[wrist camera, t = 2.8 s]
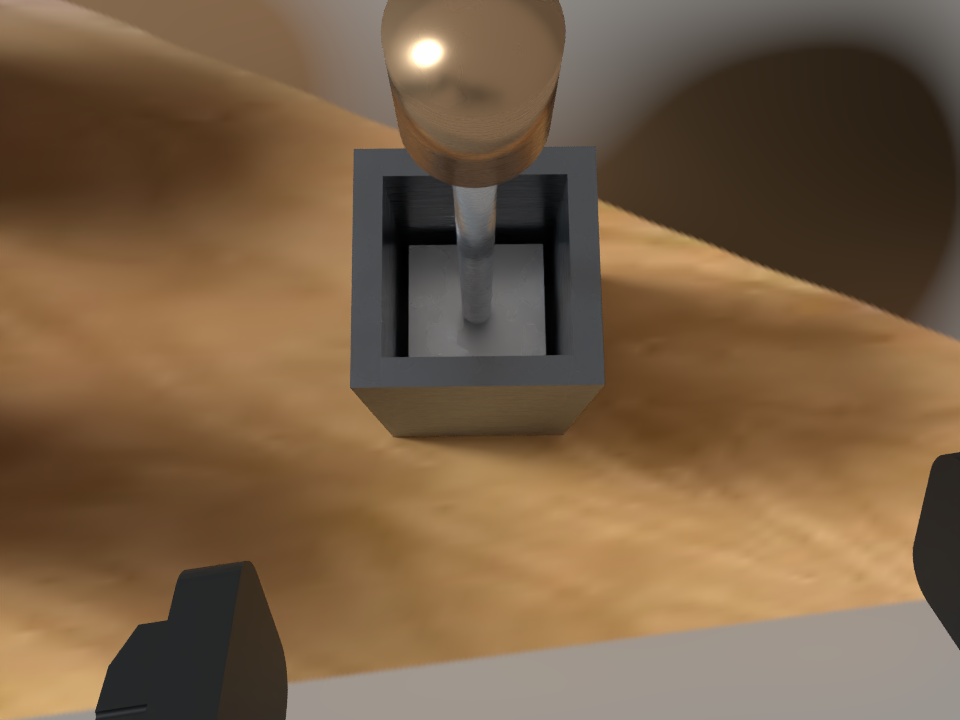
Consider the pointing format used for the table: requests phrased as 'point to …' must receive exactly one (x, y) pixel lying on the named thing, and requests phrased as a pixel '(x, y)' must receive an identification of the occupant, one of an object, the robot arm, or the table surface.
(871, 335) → the table surface
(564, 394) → the press tower
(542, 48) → the plunger
